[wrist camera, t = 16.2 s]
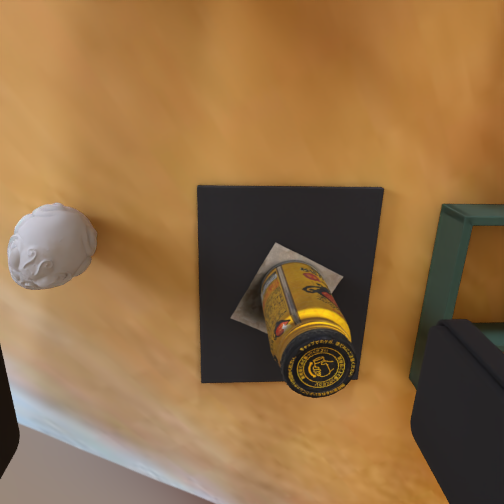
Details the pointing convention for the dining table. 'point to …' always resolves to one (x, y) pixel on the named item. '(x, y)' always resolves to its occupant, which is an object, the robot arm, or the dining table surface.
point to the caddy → (453, 273)
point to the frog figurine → (50, 247)
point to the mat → (257, 249)
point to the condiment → (300, 322)
